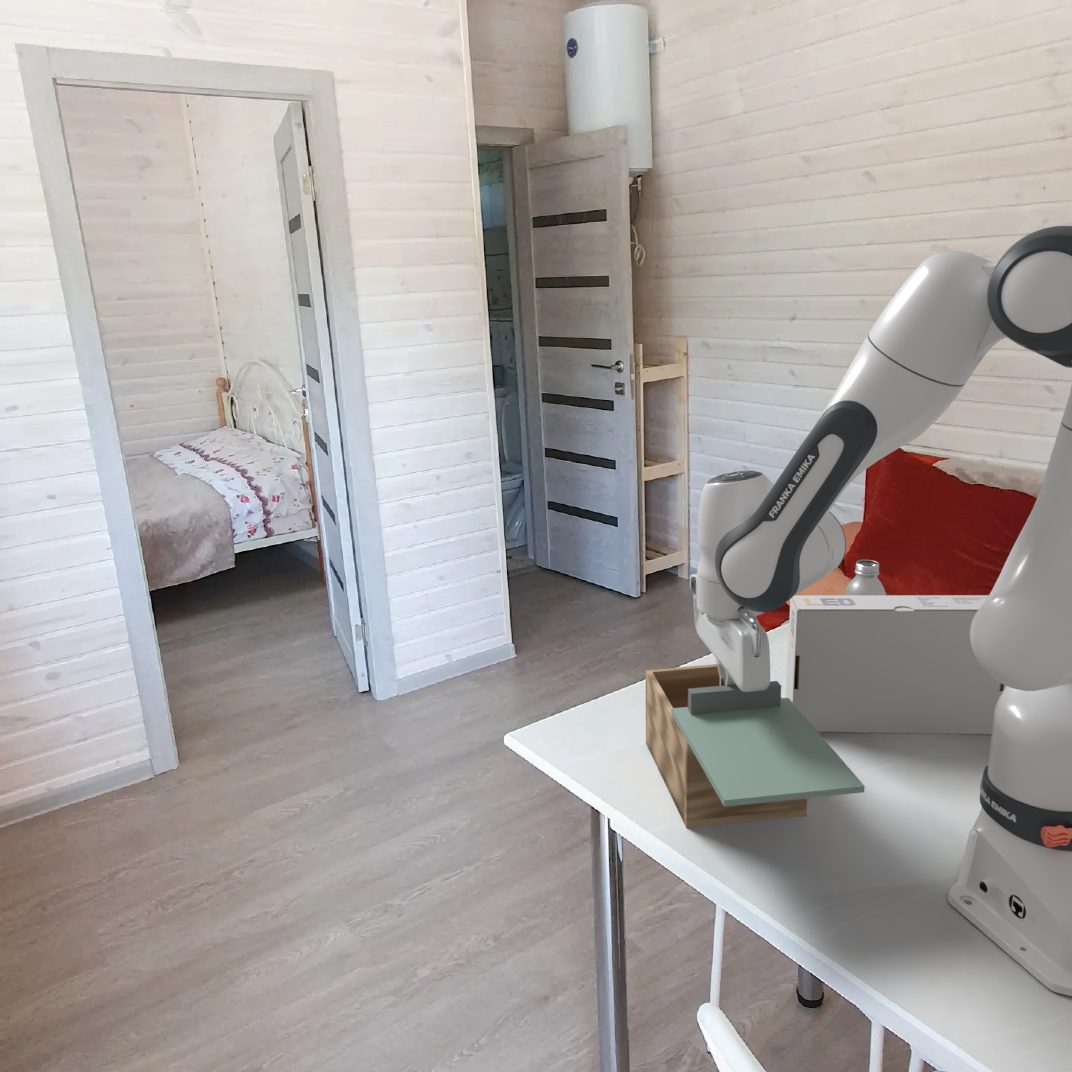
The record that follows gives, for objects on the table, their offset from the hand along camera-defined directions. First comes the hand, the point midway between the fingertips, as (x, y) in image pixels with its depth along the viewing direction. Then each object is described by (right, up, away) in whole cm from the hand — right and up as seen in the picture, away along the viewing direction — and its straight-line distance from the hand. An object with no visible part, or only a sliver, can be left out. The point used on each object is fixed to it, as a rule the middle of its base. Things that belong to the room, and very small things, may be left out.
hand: (729, 692), depth 122 cm
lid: (+1, -5, -11) cm, 12 cm away
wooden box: (0, -13, +7) cm, 14 cm away
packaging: (+29, -8, +19) cm, 36 cm away
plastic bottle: (+30, -3, +37) cm, 48 cm away
